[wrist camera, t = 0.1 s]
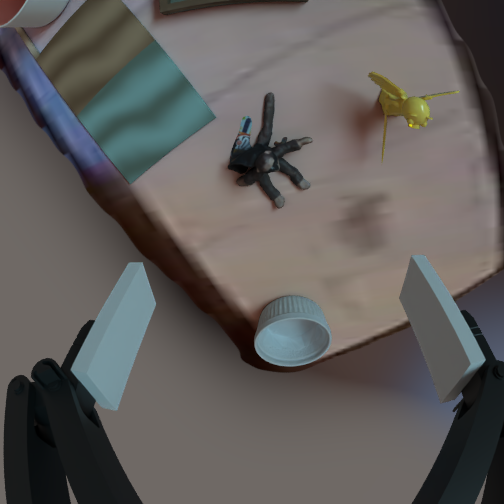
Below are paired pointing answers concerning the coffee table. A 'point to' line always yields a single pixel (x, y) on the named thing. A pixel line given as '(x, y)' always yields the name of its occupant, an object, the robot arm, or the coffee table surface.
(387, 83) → the figurine
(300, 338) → the ramekin
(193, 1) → the dice tray
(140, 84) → the track
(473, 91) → the coffee table surface
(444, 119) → the coffee table surface
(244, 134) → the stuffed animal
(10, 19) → the cup
